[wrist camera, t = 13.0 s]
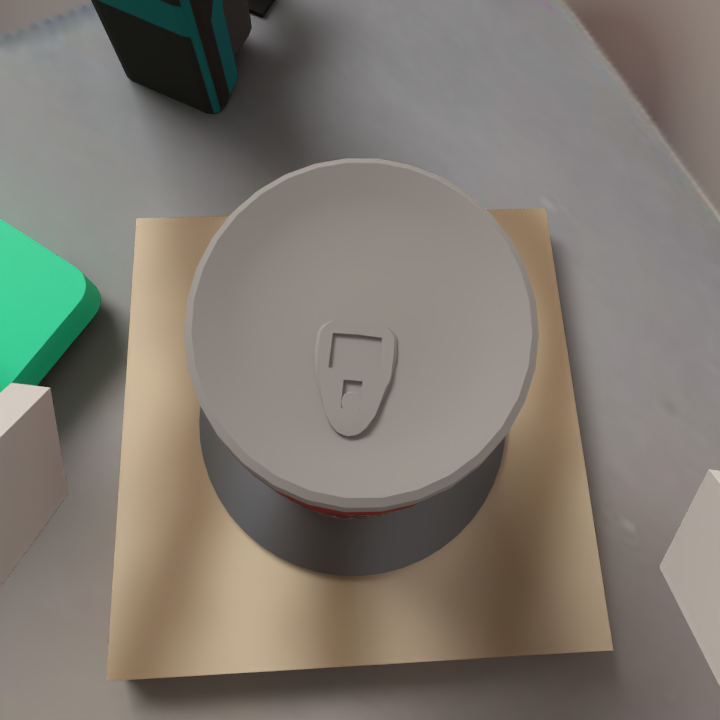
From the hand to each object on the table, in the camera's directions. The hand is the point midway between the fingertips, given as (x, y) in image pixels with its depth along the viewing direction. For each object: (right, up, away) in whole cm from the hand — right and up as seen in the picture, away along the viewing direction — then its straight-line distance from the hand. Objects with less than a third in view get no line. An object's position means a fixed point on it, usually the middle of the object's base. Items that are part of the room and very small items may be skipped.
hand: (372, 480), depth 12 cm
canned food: (-1, 0, +11) cm, 11 cm away
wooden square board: (-1, 0, +13) cm, 13 cm away
